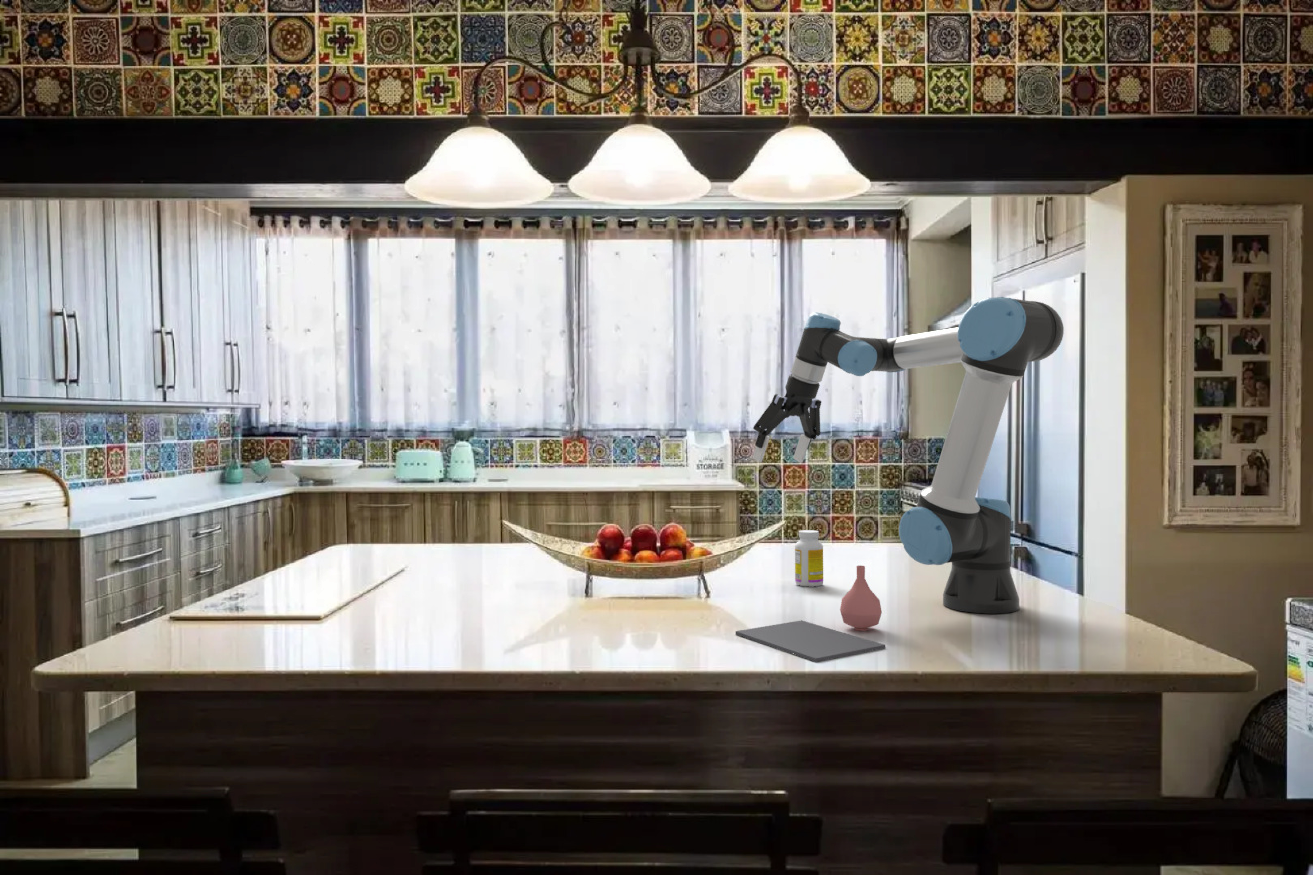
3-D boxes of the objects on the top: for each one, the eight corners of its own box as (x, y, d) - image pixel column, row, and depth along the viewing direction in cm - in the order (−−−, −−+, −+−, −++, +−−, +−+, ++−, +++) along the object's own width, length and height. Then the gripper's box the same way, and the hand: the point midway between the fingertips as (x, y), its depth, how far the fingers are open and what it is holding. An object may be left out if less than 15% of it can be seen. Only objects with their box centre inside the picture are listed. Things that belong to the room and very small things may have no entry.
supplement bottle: (827, 583, 215) (827, 530, 214) (817, 588, 209) (816, 533, 209) (801, 581, 218) (801, 528, 218) (790, 585, 213) (790, 531, 212)
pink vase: (875, 636, 164) (875, 571, 164) (834, 631, 168) (834, 567, 167) (886, 627, 171) (886, 564, 170) (847, 622, 174) (847, 561, 174)
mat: (801, 623, 174) (801, 620, 174) (885, 648, 155) (885, 644, 155) (735, 634, 166) (735, 631, 166) (815, 662, 147) (815, 658, 147)
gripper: (830, 376, 220) (803, 454, 227) (756, 368, 205) (729, 452, 212) (851, 387, 215) (823, 467, 221) (777, 380, 200) (749, 466, 206)
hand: (777, 460), depth 216 cm, fingers open, 13 cm apart
